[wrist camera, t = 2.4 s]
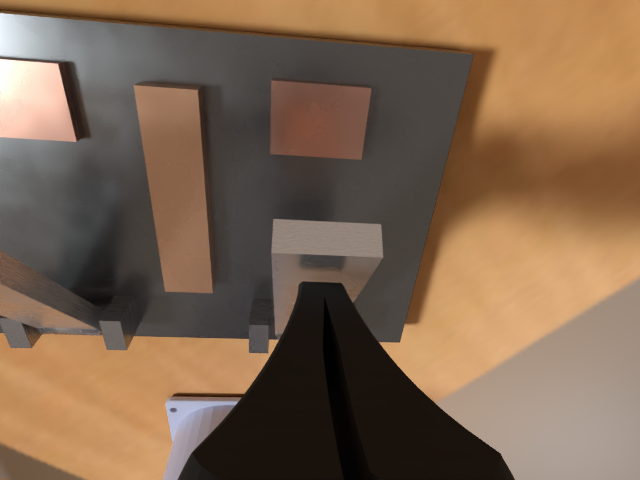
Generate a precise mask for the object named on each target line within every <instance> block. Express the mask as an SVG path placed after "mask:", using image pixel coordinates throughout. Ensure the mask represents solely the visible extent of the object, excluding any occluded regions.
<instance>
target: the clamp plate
mask: <svg viewBox="0 0 640 480" xmlns="http://www.w3.org/2000/svg"><path fill="white" fill-rule="evenodd" d="M473 55H474V54H471V53H468V52H464V51H461V50H451V49H439V48H428V47H417V46H405V45H394V44H382V43H371V42H360V41H348V40H337V39H325V38H314V37H303V36H291V35H280V34H268V33H257V32H246V31H234V30H223V29H211V28H200V27H189V26H177V25H166V24H154V23H143V22H132V21H120V20H109V19H97V18H86V17H75V16H63V15H52V14H40V13H29V12H18V11H6V10H0V250H1V251H3V252H5V253H6V254H8V255H10V256H12V257H13V258H15V259H17V260H18V261H20V262H22V263H23V264H25V265H27V266H29V267H30V268H32V269H34V270H35V271H37V272H39V273H40V274H42V275H44V276H45V277H47V278H49V279H51V280H52V281H54V282H56V283H57V284H59V285H61V286H62V287H64V288H66V289H68V290H69V291H71V292H73V293H74V294H76V295H78V296H79V297H81V298H83V299H84V300H86V301H88V302H90V303H91V304H93V305H95V306H96V307H98V308H105V309H106V310H105V312H104V314H103V315H102V317H101V318H100V320H99V323H100V327H101V330H102V335H103V337H104V341H105V345H106V348H107V350H127V349H128V347H129V345H130V343H131V341H132V339H133V337H134V336H153V337H194V338H235V339H249V353H268V347H269V339H277V336H275V317H274V297H273V277H272V257H271V250H272V234H273V219H285V220H305V221H326V222H346V223H366V224H381V229H382V245H383V259H382V260H381V262H380V263H379V265H378V266H377V268H376V269H375V271H374V272H373V274H372V275H371V277H370V278H369V280H368V281H367V283H366V284H365V286H364V287H363V289H362V290H361V292H360V293H359V295H358V296H357V298H356V299H355V301H354V302H353V304H354V306H355V307H356V309H357V311H358V312H359V314H360V316H361V317H362V319H363V320H364V322H365V323H366V325H367V326H368V328H369V329H370V331H371V332H372V334H373V335H374V337H375V338H376V339H377V341H378V342H400V340H401V336H402V332H403V328H404V324H405V320H406V316H407V312H408V308H409V305H410V301H411V297H412V293H413V289H414V285H415V281H416V277H417V273H418V270H419V266H420V262H421V258H422V254H423V250H424V246H425V242H426V238H427V234H428V231H429V227H430V223H431V219H432V215H433V211H434V207H435V203H436V199H437V196H438V192H439V188H440V184H441V180H442V176H443V172H444V168H445V164H446V161H447V157H448V153H449V149H450V145H451V141H452V137H453V133H454V129H455V125H456V122H457V118H458V114H459V110H460V106H461V102H462V98H463V94H464V90H465V87H466V83H467V79H468V75H469V71H470V67H471V63H472V59H473ZM0 333H4V334H5V336H6V338H7V340H8V343H9V345H10V347H11V348H32V347H33V346H34V344H35V343H36V342H37V340H38V339H39V338H40V336H41V335H42V333H40V332H39V330H38V328H35V327H32V326H29V325H26V324H24V323H21V322H18V321H15V320H12V319H9V318H7V317H4V316H1V315H0Z"/></svg>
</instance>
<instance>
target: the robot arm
mask: <svg viewBox="0 0 640 480" xmlns="http://www.w3.org/2000/svg"><path fill="white" fill-rule="evenodd" d="M166 410H167V415H168V420H169V426H170V431H171V437H172V442H173V444H172V448H171V451H170V455H169V458H168V462H167V465H166V469H165V473H164V476H163V480H515V479H514V477H513V475H512V473H511V471H510V470H509V468H508V466H507V465H506V463H505V461H504V460H503V458H502V456H501V454H500V453H499V452H497V451H496V450H495V449H493V448H492V447H490V446H489V445H488V444H486V443H485V442H483V441H482V440H481V439H479V438H478V437H476V436H475V435H474V434H472V433H471V432H469V431H468V430H467V429H465V428H464V427H463V426H461V425H460V424H459V423H458V422H456V421H455V420H454V419H453V418H452V417H450V416H449V415H448V414H447V413H445V412H444V411H443V410H442V409H441V408H440V407H438V406H437V405H436V404H435V403H434V402H433V401H432V400H431V399H430V398H429V397H428V396H427V395H425V394H424V393H423V392H422V391H421V390H420V389H419V388H418V387H417V386H416V385H415V384H414V383H413V382H412V381H411V380H410V379H409V378H408V377H407V376H406V375H405V373H404V372H403V371H402V370H401V369H400V368H399V367H398V366H397V365H396V363H395V362H394V361H393V360H392V359H391V357H390V356H389V355H388V354H387V352H386V351H385V350H384V349H383V347H382V346H381V345H380V343H379V342H378V341H377V339H376V338H375V337H374V335H373V334H372V332H371V331H370V329H369V328H368V326H367V325H366V323H365V322H364V320H363V319H362V317H361V316H360V314H359V312H358V311H357V309H356V307H355V306H354V304H353V302H352V300H351V299H350V297H349V295H348V293H347V291H346V289H345V287H344V285H343V284H342V283H334V282H307V281H302V282H301V283H300V284H299V285H298V294H297V298H296V302H295V305H294V308H293V311H292V313H291V315H290V318H289V320H288V323H287V325H286V327H285V330H284V332H283V333H282V335H281V337H280V339H279V341H278V343H277V345H276V347H275V349H274V351H273V352H272V354H271V356H270V358H269V359H268V361H267V362H266V364H265V366H264V367H263V369H262V370H261V372H260V373H259V375H258V376H257V378H256V379H255V380H254V382H253V383H252V385H251V386H250V387H249V389H248V390H247V391H246V393H245V394H244V395H243V397H170V398H168V399H167V401H166Z"/></svg>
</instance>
